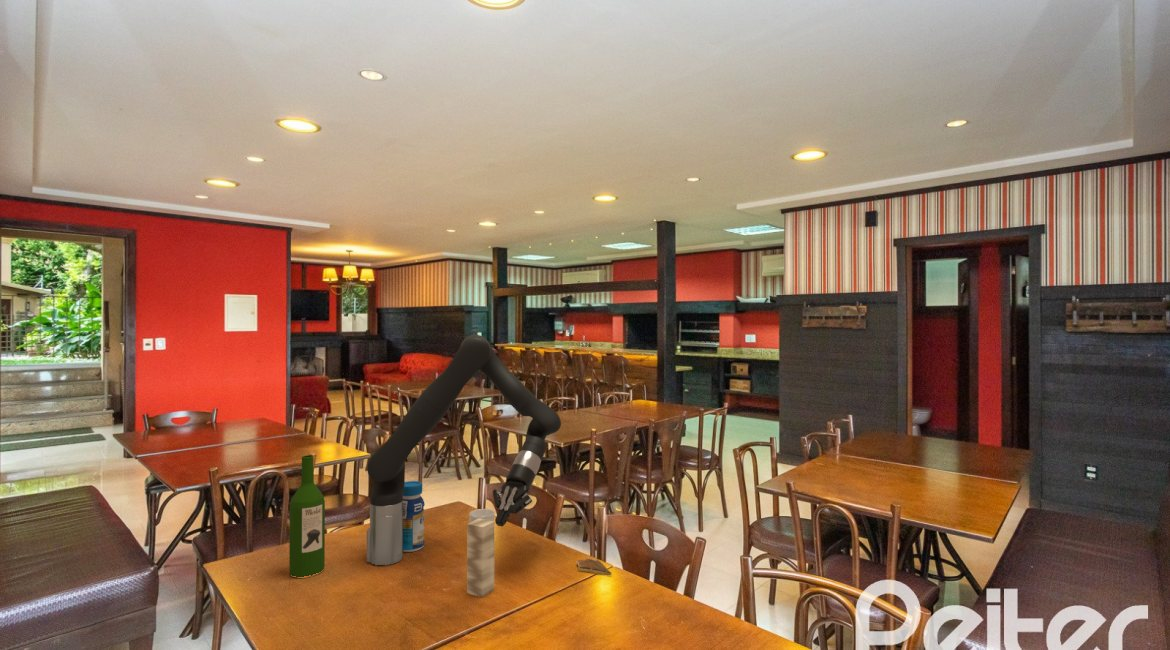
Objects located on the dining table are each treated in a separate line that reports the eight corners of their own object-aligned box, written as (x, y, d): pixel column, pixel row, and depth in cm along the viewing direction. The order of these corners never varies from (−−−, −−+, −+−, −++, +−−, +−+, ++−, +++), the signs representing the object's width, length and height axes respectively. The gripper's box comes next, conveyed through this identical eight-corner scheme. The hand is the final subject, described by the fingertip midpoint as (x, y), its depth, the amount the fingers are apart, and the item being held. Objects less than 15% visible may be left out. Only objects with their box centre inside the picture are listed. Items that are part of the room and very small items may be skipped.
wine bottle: (299, 581, 155) (299, 461, 155) (283, 572, 161) (283, 456, 161) (330, 570, 162) (331, 455, 162) (314, 562, 168) (315, 451, 168)
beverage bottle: (395, 544, 181) (395, 481, 181) (422, 540, 185) (422, 478, 185) (398, 554, 174) (398, 488, 174) (427, 550, 177) (427, 485, 177)
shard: (611, 578, 159) (611, 572, 159) (586, 582, 157) (586, 576, 157) (597, 563, 170) (597, 557, 170) (572, 566, 167) (572, 560, 167)
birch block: (466, 593, 149) (467, 524, 149) (479, 585, 154) (479, 518, 154) (482, 597, 147) (482, 527, 147) (494, 589, 151) (494, 521, 151)
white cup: (497, 540, 186) (497, 509, 186) (490, 549, 178) (490, 517, 178) (473, 539, 187) (473, 508, 187) (465, 548, 179) (466, 516, 179)
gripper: (500, 460, 169) (473, 514, 158) (538, 465, 162) (513, 522, 152) (510, 474, 173) (485, 527, 162) (548, 479, 167) (524, 535, 156)
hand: (499, 524), depth 157 cm, fingers closed
